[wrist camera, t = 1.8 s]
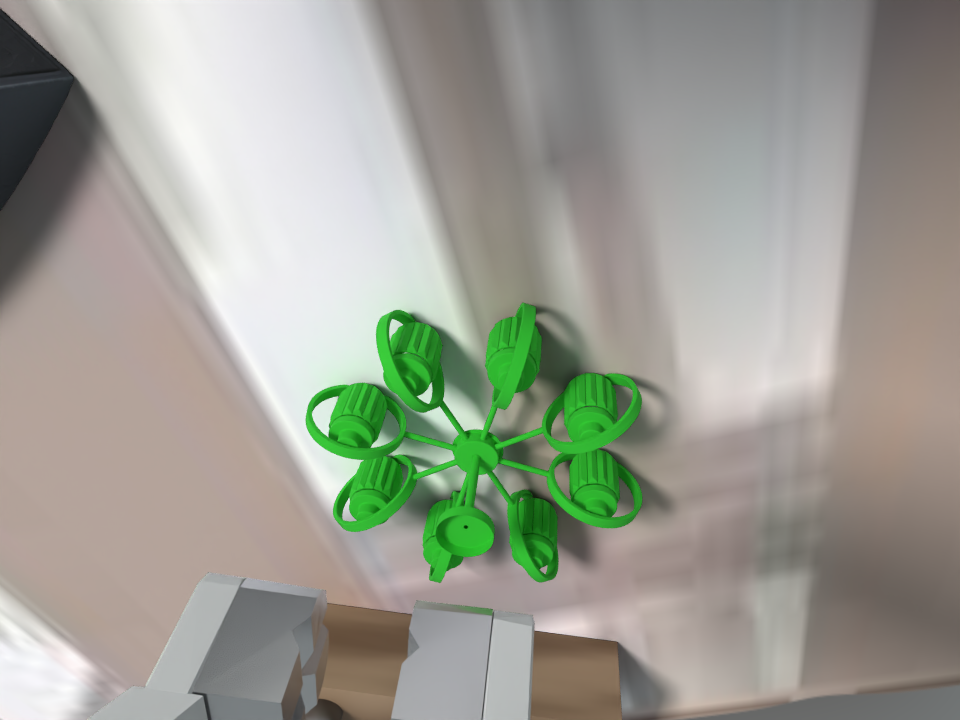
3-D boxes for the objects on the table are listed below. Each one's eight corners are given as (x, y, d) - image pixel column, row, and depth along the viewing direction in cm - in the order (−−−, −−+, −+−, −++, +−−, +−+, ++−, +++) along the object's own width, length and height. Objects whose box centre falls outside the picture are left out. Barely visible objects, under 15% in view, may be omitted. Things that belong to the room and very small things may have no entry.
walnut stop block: (293, 598, 43) (249, 716, 37) (617, 642, 42) (624, 768, 36) (296, 644, 45) (256, 761, 39) (604, 685, 44) (610, 811, 38)
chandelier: (557, 217, 29) (554, 307, 24) (699, 485, 36) (724, 606, 30) (253, 359, 34) (190, 462, 29) (427, 571, 41) (404, 689, 35)
